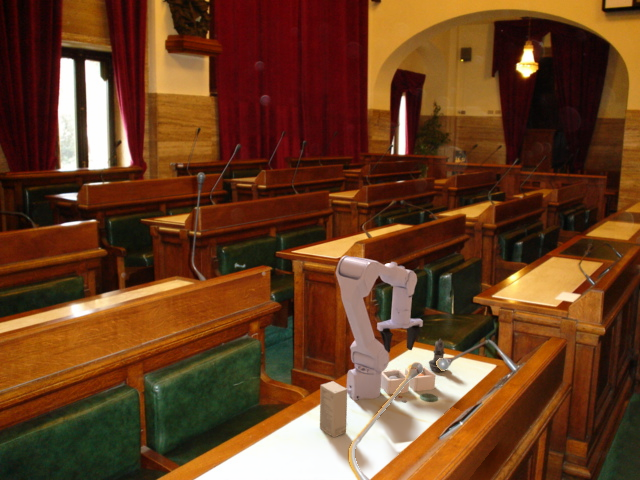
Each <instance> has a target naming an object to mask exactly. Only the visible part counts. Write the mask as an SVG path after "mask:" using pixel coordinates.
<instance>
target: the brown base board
mask: <svg viewBox="0 0 640 480" xmlns="http://www.w3.org/2000/svg"><path fill="white" fill-rule="evenodd" d="M397 398H398V399H403V395H402V396H401V395H398V396H397ZM419 399H420V400H422V401H424V402H427V403H434V402H437V401H438V400H439V397H438V396H437V395H435V394H432V393H422V394H420V395H419ZM401 402H402V403H405V404H406V403H407V402H408V401H407V400H406V399H403V400H401Z"/></svg>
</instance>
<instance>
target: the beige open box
mask: <svg viewBox="0 0 640 480" xmlns="http://www.w3.org/2000/svg"><path fill="white" fill-rule="evenodd" d="M422 367H423V372H422V374H424V375H425V376H417V377H414V378H413V379H411V380H410V381H409V388H410V389H411V390H412V391H413V392H421V391H422V392H424V391H431V390H434V389H435V385H436V374H435V373H433V372H432V370H431V369H429V368H428V367H426V366H422ZM409 368H410V367H409ZM409 368H405V371H404V374H405V375H406V376H407V374H408V372H409Z"/></svg>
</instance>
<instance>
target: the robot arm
mask: <svg viewBox="0 0 640 480" xmlns="http://www.w3.org/2000/svg"><path fill="white" fill-rule="evenodd" d="M335 276H336V279H337V282H338V285H339V288H340V297H341V302H342V304H343V307H344V311H345V313H346V317H347V320H348V323H349V326H350V330H351V333H352V336H353V338H354V341H353V342H352V343H351V345H350V346H349V349H350V359H351V362H352V363H353V364H354V368H353V369H349V370H348V371H347V375H346V389H347V396H349V397H350V398H351V399H352V401H359V400H363V399H371V400H372V399H377V398H378V397H380V396H381V389H382V388H381V376H382V371H386V369H387V368H388V365H389V362H390V353H391V345H392V344H391V343H392V338H393V335H394V334H393V332H391V330H393V329H395V330H396V329H401V328H402V329H406V348H407V350H409V351H412V350H413V347H414V345H415V343H416V340H417V338H418V337H419V335H420V334H421V332H422V328H421V327H423V325H424V324H423V323H424V320H422V319H421V318H411V313H412V312H411V311H412V303H413V302H412V301H413V300H412V298H413V295H414V294H415V288H416V285H417V282H418V278H417V277H418V276H417V273H415V271H414V270H411V269H406V267H405V266H403V265H398V263H397V262H395V261H391V262H390V263H385V264H384V263H381V262H379V261H378V260H373V259H369V258H364V257H357V256H349V255H344V256H342V257H341V258H340V260H339V261H338V263H337V266H336V270H335ZM379 277H380V279H381V281H382V282H384V283H386V284H388V285H390V286H391V287H393V288H392V301H391V315H390V319H388V320H384V321H380V322H377V324H376V326H377V327H376V329H377V330H378V332H379V334H380V337H381V339H382V342H383V343H381V341H379V340H378V339H376V338H375V334H374V331H373V327H372V323H371V320H370V317H369V313H368V310H367V307H366V303H365V301H364V298H365V297H368V296H369V295H370V293H371V292H372V291H371V290H372V289H373V287H374V285H375V283H376V280H377V279H379Z"/></svg>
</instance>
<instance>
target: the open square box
mask: <svg viewBox="0 0 640 480" xmlns="http://www.w3.org/2000/svg"><path fill="white" fill-rule="evenodd" d="M391 376H396V377H398V379H389V377H391ZM405 378H406V375H405V372H403V370H401V369H397V368H396V369H389V370H386V369H385V370H384V371H382V376H381V389H382V390H383V392H384V393H385V394H386V395H394V394H393V393H394V392H395V391H396V389H397V388H398V387H399V385H400V384H401V383H402V382H403V381H404V380H405ZM409 388H410V387H409V382H408V383H407V384H406V385H405V386H404V388H403V389H402V390H401V392H400V393H399V394H404V393H409Z"/></svg>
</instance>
